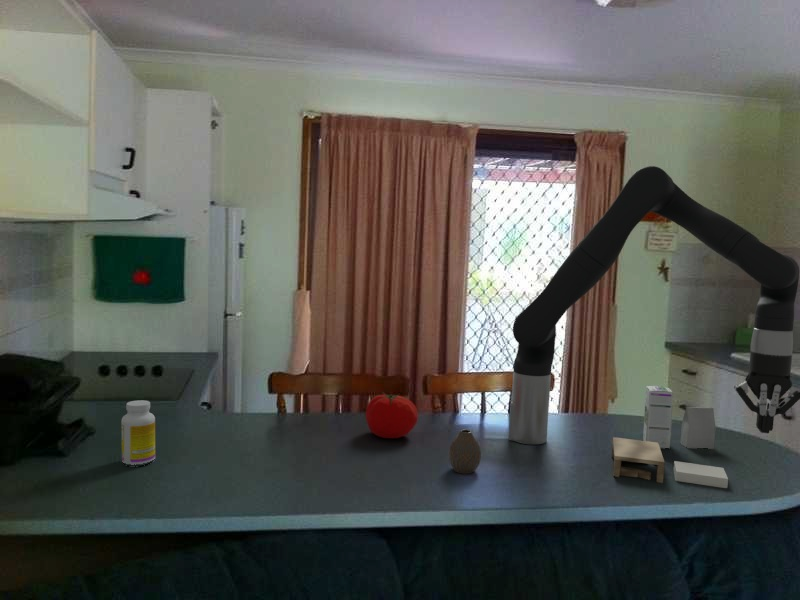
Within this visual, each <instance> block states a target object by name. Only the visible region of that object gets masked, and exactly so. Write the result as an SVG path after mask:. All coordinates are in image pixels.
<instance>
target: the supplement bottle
mask: <svg viewBox="0 0 800 600" xmlns="http://www.w3.org/2000/svg"><path fill="white" fill-rule="evenodd" d="M125 408H126V409H125V410H126V411H127V413H126V414H125V415H123V416H122V418H121V420H120V421H121V423H120V424H121V463H122V462H123V463H126V464H131V465H134V464H135V465H136V464H143V463H147V462H150V461H152V460H154V459H155V460H156V417H155V415H154V414H153V413H151V412H150V409H151V402H150V401H149V400H142V399H141V400H138V399H137V400H132V401H131V400H130V401H128V402H127V403H126V405H125ZM155 460H154V461H155ZM123 463H122V464H123Z"/></svg>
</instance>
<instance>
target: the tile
mask: <svg viewBox="0 0 800 600" xmlns="http://www.w3.org/2000/svg"><path fill="white" fill-rule="evenodd" d="M673 475H674V479H675V481H676V482H681V483H689V484H695V485H703V486H708V487H716V488H723V489H728V484H729V477H728V475H727V473H726V471H725V469H724V467H720V466H719V467H718V466H713V465H705V464H698V463H690V462H685V461H684V462H683V461H677V460H674V462H673Z"/></svg>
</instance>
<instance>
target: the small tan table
mask: <svg viewBox="0 0 800 600" xmlns="http://www.w3.org/2000/svg"><path fill="white" fill-rule="evenodd" d="M611 445H612V446H611V458H613V472H612V476H613V477H614V476H615V478H620V476H624V477H631V478H640V479H644V480H647V479H648V481H650V480H651V477H652V472H651V471H649V470H643V469H641V468H640V469H639V468H634V467H627V466H622V462H625V461H626V462H627V463H633V464H634V463H636V464H637V463H640V464H641V463H642V464H648V465H656V466H657V467H656V483H660V484H663V483H664V472H665V459H664V457H663V454H662V450H661V448H660V447H659V444H658V442H649V441H643V440H639V439H632V438H631V439H630V438H624V437H615V436H612V443H611Z"/></svg>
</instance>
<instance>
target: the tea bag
mask: <svg viewBox="0 0 800 600" xmlns="http://www.w3.org/2000/svg"><path fill="white" fill-rule="evenodd" d="M716 426H717V425H716V419H715V411H714V408H713V407H700V406H699V407H696V406H694V407H693V406H686V407H685V412H684V414H683V417H682V420H681V431H680V443H681V444H680V443H679V444H680V445H682V446H683V445H684V446H683V447H685V448H686V447H687V448H686V449H697V448H708V449H709V450H714V449H715V447H714V446H715V435H716V428H717V427H716ZM708 449H707V450H708Z"/></svg>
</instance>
